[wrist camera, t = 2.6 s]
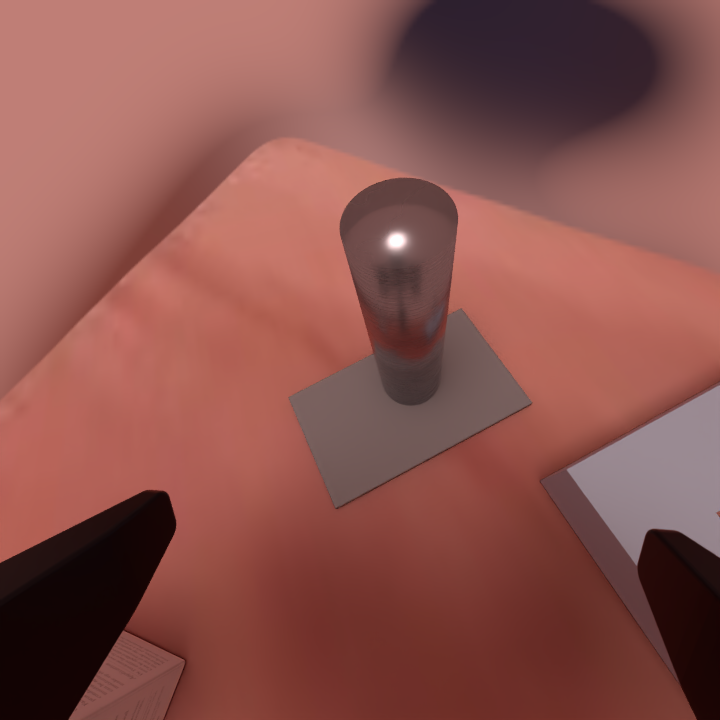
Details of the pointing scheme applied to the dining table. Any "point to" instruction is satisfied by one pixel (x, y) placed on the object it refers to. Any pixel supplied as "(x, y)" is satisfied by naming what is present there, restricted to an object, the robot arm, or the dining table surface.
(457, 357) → the base plate
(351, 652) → the dining table surface
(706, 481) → the block
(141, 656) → the skincare box
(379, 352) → the pin
